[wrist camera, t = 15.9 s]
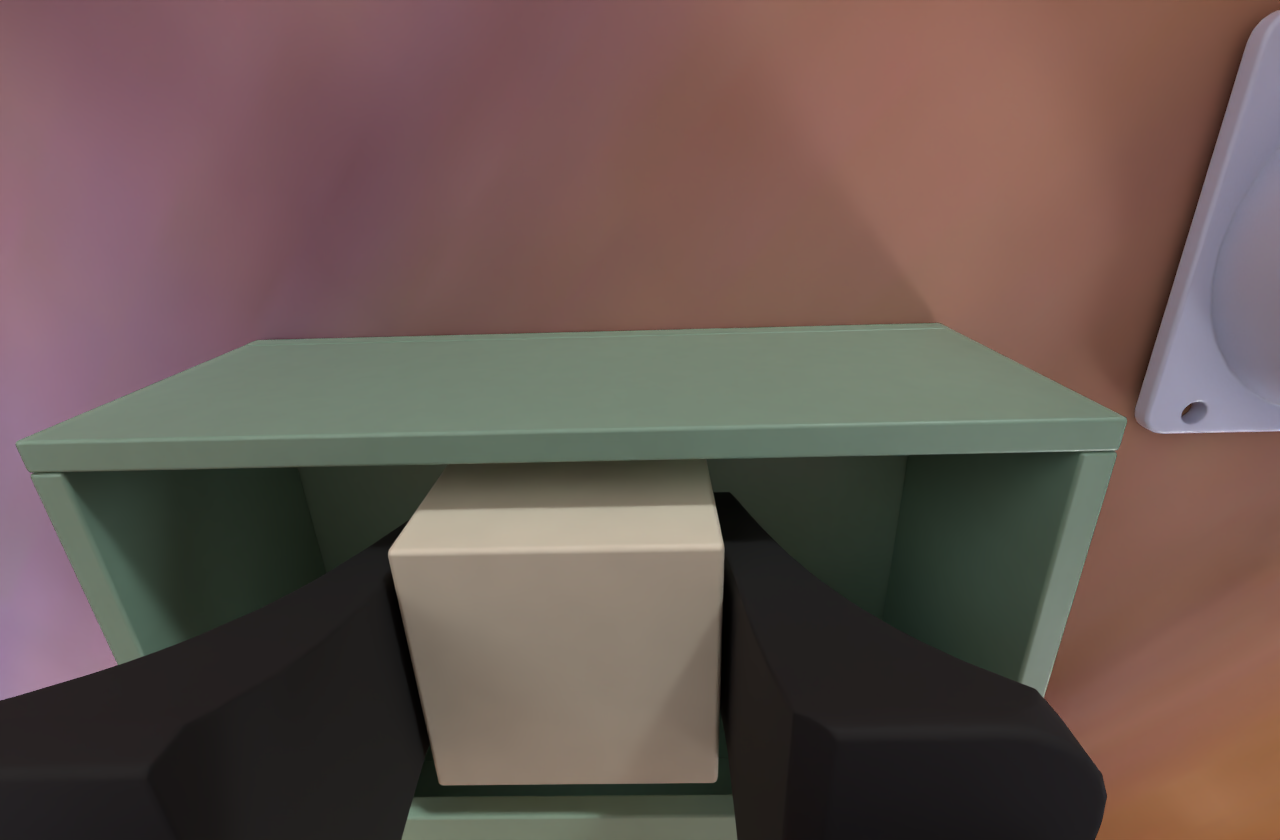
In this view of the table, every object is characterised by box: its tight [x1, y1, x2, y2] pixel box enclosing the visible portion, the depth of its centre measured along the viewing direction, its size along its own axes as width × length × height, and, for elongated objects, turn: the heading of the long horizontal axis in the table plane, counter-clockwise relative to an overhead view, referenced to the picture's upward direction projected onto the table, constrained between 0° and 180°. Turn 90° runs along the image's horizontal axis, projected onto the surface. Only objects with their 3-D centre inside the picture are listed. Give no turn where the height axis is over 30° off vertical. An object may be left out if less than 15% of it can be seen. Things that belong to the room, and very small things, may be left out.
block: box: [388, 459, 725, 785], centre depth 11 cm, size 4×4×5 cm
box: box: [16, 323, 1127, 797], centre depth 13 cm, size 15×13×6 cm
